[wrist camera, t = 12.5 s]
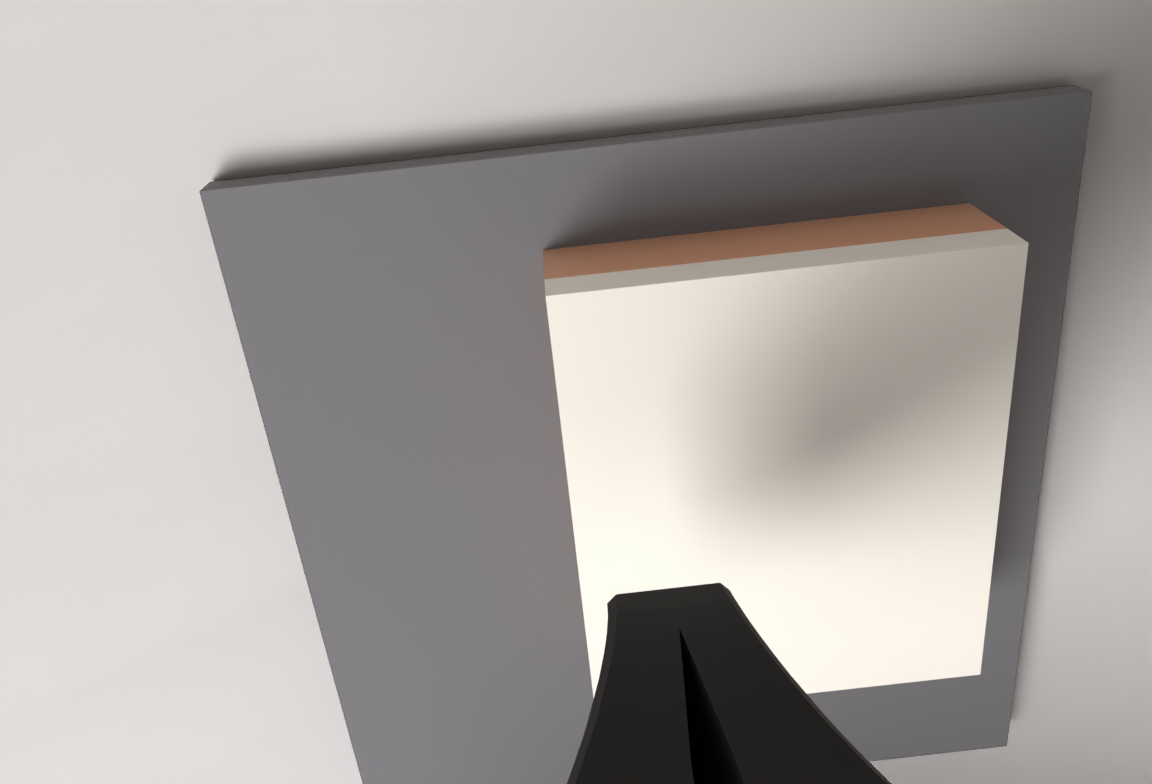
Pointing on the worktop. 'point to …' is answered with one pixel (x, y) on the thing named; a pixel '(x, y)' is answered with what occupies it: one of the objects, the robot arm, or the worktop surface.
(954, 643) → the tile
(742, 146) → the mat
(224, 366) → the worktop surface
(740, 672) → the robot arm
